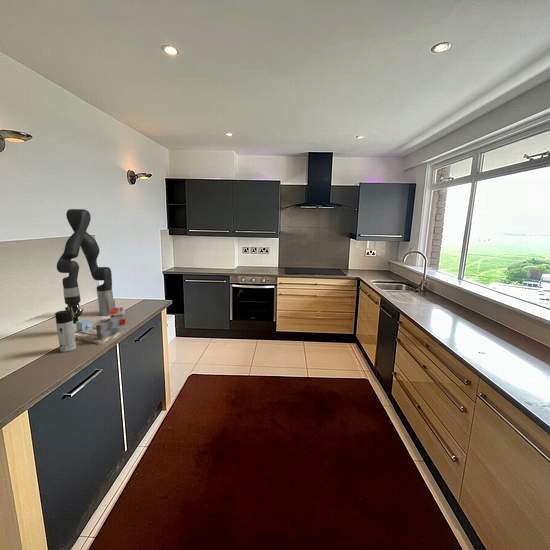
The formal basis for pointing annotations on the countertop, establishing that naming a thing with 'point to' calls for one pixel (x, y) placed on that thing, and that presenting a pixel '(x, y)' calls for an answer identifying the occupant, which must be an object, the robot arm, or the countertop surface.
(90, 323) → the gauge slider
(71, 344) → the spray can
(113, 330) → the base
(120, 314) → the medicine box
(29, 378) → the countertop surface
